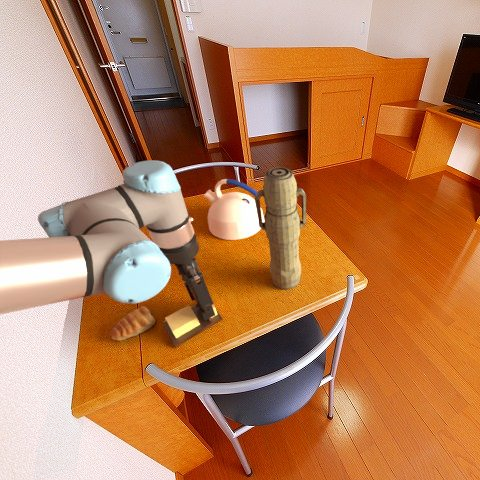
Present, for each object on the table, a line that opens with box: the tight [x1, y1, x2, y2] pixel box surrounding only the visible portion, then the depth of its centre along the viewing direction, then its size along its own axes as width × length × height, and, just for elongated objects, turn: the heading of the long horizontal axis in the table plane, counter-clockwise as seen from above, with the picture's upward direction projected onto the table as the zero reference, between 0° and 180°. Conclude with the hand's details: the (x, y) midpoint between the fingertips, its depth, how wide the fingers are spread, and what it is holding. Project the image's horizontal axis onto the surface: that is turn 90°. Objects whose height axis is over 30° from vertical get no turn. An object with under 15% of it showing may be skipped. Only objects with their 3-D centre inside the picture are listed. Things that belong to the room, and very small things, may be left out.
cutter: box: [187, 283, 212, 322], centre depth 69 cm, size 2×7×9 cm, turn 41°
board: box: [162, 305, 223, 348], centre depth 70 cm, size 12×8×1 cm, turn 131°
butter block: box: [164, 304, 200, 338], centre depth 68 cm, size 6×5×3 cm
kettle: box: [203, 178, 265, 241], centre depth 97 cm, size 20×21×18 cm
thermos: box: [254, 166, 307, 291], centre depth 72 cm, size 9×12×35 cm
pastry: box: [109, 306, 156, 342], centre depth 68 cm, size 9×7×4 cm
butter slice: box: [211, 304, 218, 318], centre depth 71 cm, size 2×5×3 cm, turn 41°
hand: (203, 306), depth 70 cm, fingers closed on cutter, 7 cm apart
